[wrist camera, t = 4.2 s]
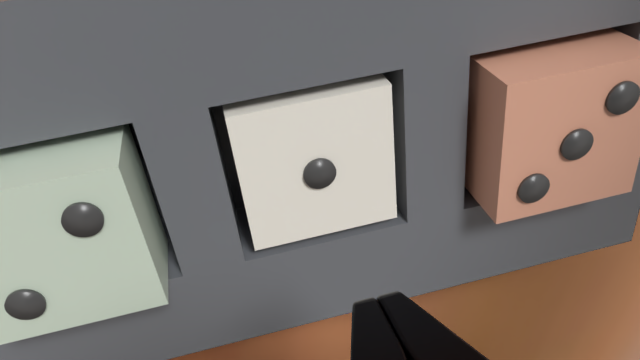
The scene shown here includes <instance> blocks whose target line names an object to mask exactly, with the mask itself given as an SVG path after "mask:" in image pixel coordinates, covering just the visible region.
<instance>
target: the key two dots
mask: <svg viewBox="0 0 640 360" xmlns="http://www.w3.org/2000/svg"><path fill="white" fill-rule="evenodd" d="M167 304H168V240H167V237H166V234H165V231H164V228H163V225H162V222H161V219H160V216H159V213H158V210H157V207H156V204H155V201H154V198H153V195H152V192H151V189H150V186H149V183H148V181H147V178H146V175H145V172H144V169H143V166H142V163H141V160H140V157H139V154H138V151H137V148H136V145H135V142H134V139H133V136H132V133H131V130H130V127H129V124H124V125H119V126H114V127H109V128H104V129H99V130H94V131H89V132H84V133H79V134H74V135H69V136H64V137H58V138H53V139H48V140H43V141H38V142H33V143H28V144H23V145H18V146H13V147H8V148H3V149H0V345H2V344H6V343H10V342H14V341H19V340H23V339H27V338H31V337H35V336H39V335H43V334H47V333H52V332H56V331H60V330H64V329H68V328H72V327H76V326H80V325H84V324H89V323H93V322H97V321H101V320H105V319H109V318H113V317H117V316H121V315H126V314H130V313H134V312H138V311H142V310H146V309H150V308H154V307H158V306H163V305H167Z"/></svg>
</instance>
